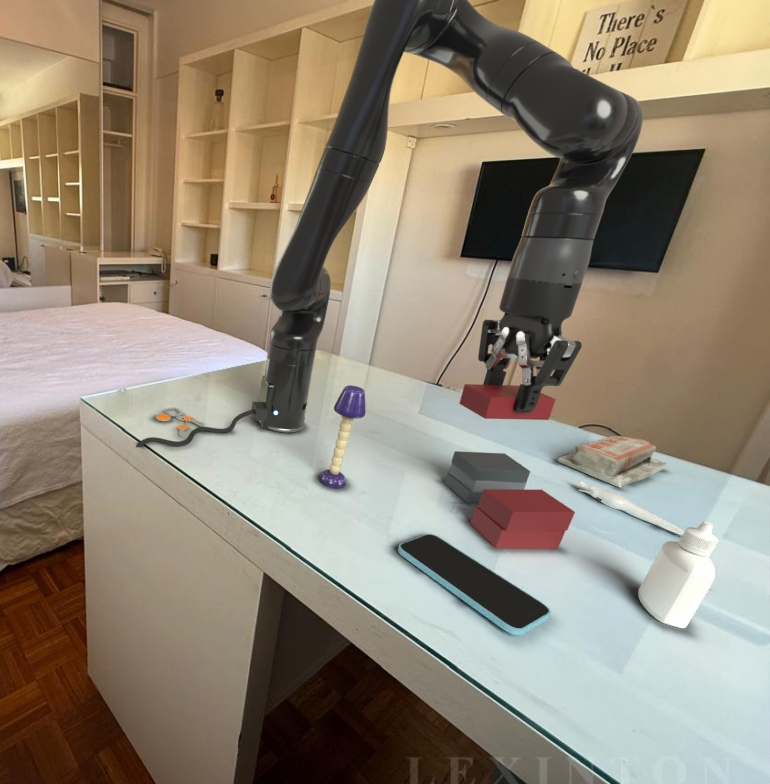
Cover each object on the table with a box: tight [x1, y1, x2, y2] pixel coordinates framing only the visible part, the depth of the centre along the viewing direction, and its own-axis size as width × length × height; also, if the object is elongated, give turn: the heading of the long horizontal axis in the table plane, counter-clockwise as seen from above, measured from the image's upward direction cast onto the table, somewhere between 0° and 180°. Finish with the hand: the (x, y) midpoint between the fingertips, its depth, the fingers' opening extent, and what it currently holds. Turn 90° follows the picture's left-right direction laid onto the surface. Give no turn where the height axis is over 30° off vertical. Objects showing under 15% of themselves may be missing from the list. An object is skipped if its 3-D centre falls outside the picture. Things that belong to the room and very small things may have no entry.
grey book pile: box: [443, 450, 531, 504], centre depth 73 cm, size 9×6×6 cm
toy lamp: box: [318, 384, 366, 490], centre depth 72 cm, size 5×5×17 cm
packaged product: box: [557, 435, 668, 488], centre depth 85 cm, size 18×5×10 cm
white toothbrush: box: [577, 480, 685, 536], centre depth 71 cm, size 15×3×2 cm, turn 22°
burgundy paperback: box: [459, 383, 556, 421], centre depth 62 cm, size 9×5×3 cm, turn 94°
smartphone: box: [397, 533, 552, 636], centre depth 54 cm, size 7×1×15 cm
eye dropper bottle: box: [637, 520, 720, 629], centre depth 50 cm, size 4×6×12 cm
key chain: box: [155, 407, 203, 437], centre depth 93 cm, size 13×7×1 cm, turn 30°
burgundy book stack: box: [469, 489, 576, 550], centre depth 63 cm, size 9×6×6 cm, turn 93°
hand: (505, 402), depth 62 cm, fingers closed on burgundy paperback, 5 cm apart
